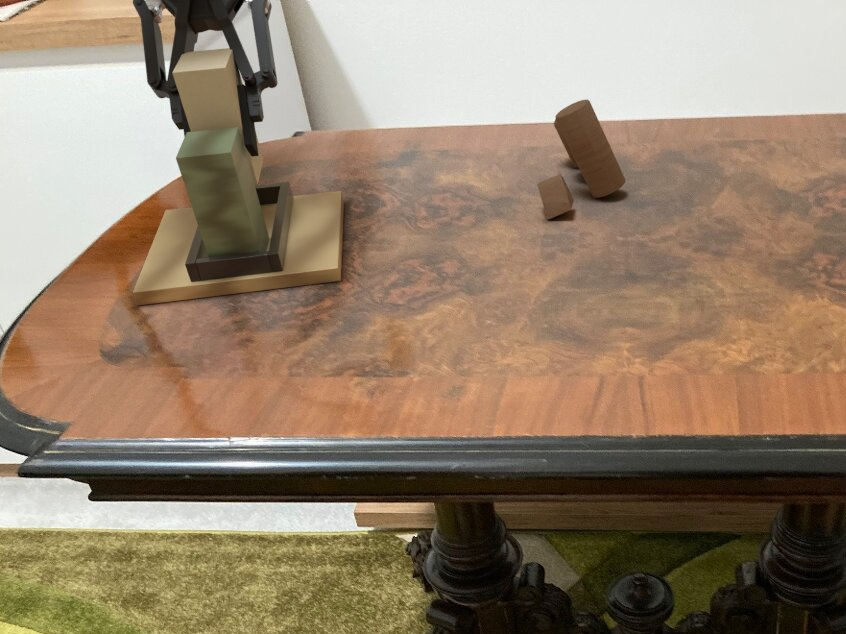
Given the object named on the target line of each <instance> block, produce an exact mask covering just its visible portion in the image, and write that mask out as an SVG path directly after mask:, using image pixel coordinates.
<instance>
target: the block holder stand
mask: <svg viewBox="0 0 846 634" xmlns="http://www.w3.org/2000/svg"><path fill="white" fill-rule="evenodd" d="M175 161H176V163H177V166H178V170H179V172H180V175H181V179H182V181H183V184H184V187H185V190H186V193H187V197H188V199H189V202H190V203H189V204H190V205H191V206H190V207H180V208H171V209H165V210H164V213H163V215H162V218H161V220H160V223H159V226H158V227H157V231H156V233H155V235H154V238H153V241H152V243H151V246H150V248H149V251H148V253H147V255H146V258H145V261H144V263H143V266H142V268H141V270H140V272H139V275H138V278H137V280H136V283H135V285H134V288H133V290H132V295H133V298H134V300H135V303H136V305H137V306H144V305H145V306H146V305H154V304H163V303H168V302H178V301H186V300H193V299H194V300H195V299H203V298H210V297H219V296H227V295H234V294H242V293H243V294H244V293H253V292H261V291H268V290H277V289H284V288H293V287H301V286H311V285H318V284H325V283H332V282H341V281H342V264H343V263H342V262H343V261H342V260H343V240H344V239H343V237H344V211H345V200H344V196H343V191H342V190H336V191H328V192H327V191H325V192H319V193H309V194H301V195H300V194H299V195H294V194H293V191H292V187H291V182H290V181H288V182H287V181H286V182H275V183H267V184H265V183H264V184H258V185H254V181H253V178H252V174H251V171H250V167H249V163H248V160H247V156H246V153H245V149H244V146H243V142H242V138H241V135H240V131H239V128H238V127H235V128H225V129H214V130H204V131H194V132H187V133H186V135H185V137H183V140H182V142H181V144H180V147H179V149H178V152H177V154H176V157H175Z"/></svg>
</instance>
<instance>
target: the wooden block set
mask: <svg viewBox="0 0 846 634" xmlns="http://www.w3.org/2000/svg"><path fill="white" fill-rule="evenodd" d="M553 126H554V128H555V130H556V132H557V135H558V137H559V139H560V142H561V143H562V145H563V147H564V149H565V151H566V154H567V155H568V157H569V159H570V161H571V163H572V166H573V167H574V168H578V170H579V171H580V173H581V176H582V178H583V180H584V182H585V183H586V186H587V187H588V190H589V192H590V194H591V196H592V197H593V198H602V197H606V196H609V195H611V194H613V193H615V192H617V191H618V190H619V189H621V188H622V187H623V186H624V185H625V184H626V178H625V176H624V174H623V171H622V169H621V167H620V165H619V163H618V160H617V158H616V156H615V153H614V151H613V149H612V147H611V145H610V143H609V141H608V138H607V136H606V134H605V131H604V129H603V128H602V127H603V126H602V125H601V123H600V120H599V118H598V116H597V114H596V111H595V110H594V108H593V105H592V102H591V100H589V99H581V100H578V101H576V102H573V103H571V104H569V105H567V106H566V107H564V108H562V109H561V110H559V111H558V112H557V114H556V115H555V119H554V122H553ZM536 186H537V189H538V192H539V195H540V196H539V197H540V199H541V203H542V205H543V210H544V213H545V217H546V220H551V219H553V218H556V217H558V216H560V215H562V214H565V213H567V212H570V211H572V209H573V204H574V200H575V198H574V196H573V195H572V193H571V191H570V188H569V187H568V185H567V183H566V181H565V179H564V177H563V175H562V173H559V174H556V175H554V176H552V177H548V178H546V179H545V180H542V181H540V182H538V183H537V185H536Z"/></svg>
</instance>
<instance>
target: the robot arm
mask: <svg viewBox="0 0 846 634" xmlns="http://www.w3.org/2000/svg"><path fill="white" fill-rule="evenodd" d="M244 4H246V7H247V10H248V11H249V13H250V14H251V19H252V27H253V33H254V39H255V46H256V52H257V59H258V66H259V70H258V71H255V72H254V69H253V67H252V65H251V63H250V60H249V58H248V56H247V53H246V51H245V49H244V47H243V44H242V41H241V39H240V37H239V34H238V32H237V30H236V27H235V25H234V23H233V21H234V20H235V18H236V16H237V14H238V13H239V11H240V10H241V8H242V6H243V5H244ZM132 5H133V7H134V9H135V11H136V13H137V14H138V17H139V18H140V25H141V35H142V44H143V45H142V46H143V54H144V62H145V73H146V82H147V85H148V86H149V87H150V89H151V90H152V91H153V93H154V95H156V97H157V98H159V99H165V98H166V99H169V107H170V114H171V115H170V116H171V120H172V122H173V123H174V125H175V126H176V128H177V129H178V130H179V131H180V130H181V131H183V136H184V137H183V138H185V135H186V133H187V132H191V130H190V127H189V124H188V121H187V117H186V114H185V111H184V108H183V105H182V102H181V98H180V95H179V92H178V89H177V86H176V83H175V79H174V76H173V73H172V72H173V70H174V69H175V67H176V65H177V63H178V61H179V59H180V57H181V55H182V54H184V53H186V52H193V51H195V45H196V44H197V43H198V38H199V34H200V33H204V32H208V31H214V32H222V34H223V37H224V38H225V41H226V43H227V46H228V48H230V50H232V51H233V57H234V59H235V62H236V64H237V66H238V69H239V72H240V76H241V79H242V81H243V82H244V83H243V85H237V91H238V99H239V106H240V114H241V121H242V130H243V138H244V145H245V147H246V149H247V150H248V152H249V153H250V155H251V157H253V156H259V154H258V147H257V139H256V135H257V131H256V124H255V123H261V122H263V121H264V118H265V115H264V108H263V107H264V106H263V101H262V93H263V91H265V90H266V89H269V88H270V89H275V88H276V87H277V86H278V77H277V70H276V64H275V63H276V62H275V57H274V49H273V42H272V37H271V29H270V25H269V24H270V23H269V20H270V16H271V13H272V8H273V7H272V6H273V5H272V3H271V0H132ZM164 10H167V11H168V12H169V13H170V14H171V15H172V16H173V17H174V34H173V41H172V47H171V48H172V49H171V54H170V60H169V66H168V72H167V71H166V63H165V53H164V52H165V51H164V45H163V34H162V30H161V27H160V25H159V24H161V23H162V22H163V12H164ZM255 131H256V132H255Z"/></svg>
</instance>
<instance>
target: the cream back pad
mask: <svg viewBox="0 0 846 634" xmlns="http://www.w3.org/2000/svg"><path fill="white" fill-rule="evenodd" d="M172 73H173V76H174V79H175V83H176V86H177V89H178V92H179V95H180V98H181V102H182V105H183V108H184V111H185V114H186V117H187V121H188V124H189V127H190V130H191V132H194V131H204V130H214V129H225V128H235V127H238V128H239V131H240V135H241V138H242V142H243V146H244V149H245V153H246V156H247V160H248V163H249V167H250V171H251V174H252V178H253V181H254V185H255V186H256V185H259V181H260V177H261V173H262V168H263V163H264V157H263V153H262V150H261V146H260V142H259V139H258V135H257V134H256V139H257V147H258V154H259V156H253V157H251V155H250V153H249V152H248V150H247V149H246V147H245V145H244V138H243V130H242V121H241V114H240V106H239V99H238V91H237V85H243V84H244V83H243V78H242V76H241V73H240V71H239V69H238V66H237V64H236V62H235V59H234V57H233V51H232V50H230V48H229V47H228V48H219V49H217V48H216V49H205V50H194V51H193V52H186V53H184V54H182V55H181V57H180V59H179V61H178V63H177V65H176V67H175V69H174V70H173V72H172ZM255 132H256V133H257V131H256V130H255Z"/></svg>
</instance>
